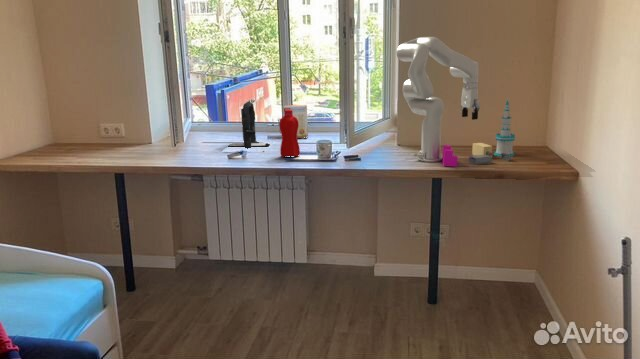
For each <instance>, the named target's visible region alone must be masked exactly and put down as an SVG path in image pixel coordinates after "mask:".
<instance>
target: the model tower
mask: <svg viewBox="0 0 640 359" xmlns="http://www.w3.org/2000/svg"><path fill="white" fill-rule="evenodd" d="M509 103H510V102H509V97H507V99H506V102H505V106H504V109H503V111H504V112H503V116H501V128H500V133H495V141H496V150H495V152H494V153H493V155H494V156H496V157H501V153H506V154H509V155H511V157H514V156H515V153H514V152H513V149H514V148H513V147H514V146H513V144H514V141H515V138H516V135H515V134H514V133H512V132H511V123H512V122H511V121H512V117H511V113H510V110H511V109H510V104H509Z"/></svg>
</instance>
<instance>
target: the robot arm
mask: <svg viewBox="0 0 640 359" xmlns="http://www.w3.org/2000/svg"><path fill="white" fill-rule="evenodd" d="M429 56H430V57H431V58H432V59H433V60H435V61H436V62H437V63H438V64H440V65H441V66H445V67H448V68H449V73H450V75H451V76H452V77H454V78H462V82H463V83H462V84H463V86H462V91H461V98H460V107H461V117H462V118H468V117H469V116H468V114H469V109H471V110H472V111H471V120H475V121H476V120H478V119H479V111H480V107H481V103H480V102H479V90H478V89H479V68H480V65H479V62H478V61H475V60H472V58H470V57H469V56H467V55H465V54H462V53H460V52H458V51H455V50H453V49H451V48H450V47H449V46H447V45H446V44H445V43H444V42H443V41H442V40H440V38H437V37H436V36H420V37H416V38H414V39H411V40H408V41H405V42H403V43H401V44H400V45H399V46H398V47H397V48H396V57H397V59H398V60H399V61H401V62H404V63H405V62H407V63H410V62H411V63H410V66H409V68H408V71H407V77H408V79H406V80H405V81H404V82H403V84H402V94H403V97H404V99H405V102H406V103H407V105H408V107H409V109H410V111H411V112H412V113H413V114H416V115H418V116H419V115H420V116H425V117H424V118H423V120H422V123H421V144H420V145H421V147H420V148H421V149H420V150H419V151H418V152H412V154H411V155H412V157H413V158H415V157H417V159H418V160H419V161H422V162H426V163H430V162H431V163H436V162H443V161H442V156H443V155H441V142H442V141H441V139H442V138H441V137H442V119H443V114H444V110H445V103H444V101H443V100H442V99H441V98H440V97H437V96H433V95H434V87H433V85H432V82H431V81H430V78H429V76H428V74H427V70H426V64H427V61H428V58H429Z"/></svg>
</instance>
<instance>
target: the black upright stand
mask: <svg viewBox="0 0 640 359" xmlns="http://www.w3.org/2000/svg"><path fill="white" fill-rule="evenodd" d="M255 102H256V100H255V98H251V100H248V101H247V102H245V103H244V104H243V105H242V108H240V114H241V124H242V126H241V127H242V130H241V131H242V139H243V140H242V141H244V143H232V142H231V143H232V144H231V143H230V144H229V145H227V146H228V147H245V148H247V149H248V148H251V147H269V146H270V144H268V143H259V142H257V141H258V140H257V137H256V134H257V133H256V112H255V111H256V110H255V107H254V103H255ZM270 147H271V146H270ZM270 147H269V148H270ZM256 151H258V150H256ZM262 151H265V149H264V150H263V149H262ZM265 152H266V151H265ZM249 153H252V152H251V151H250V152H249Z"/></svg>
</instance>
